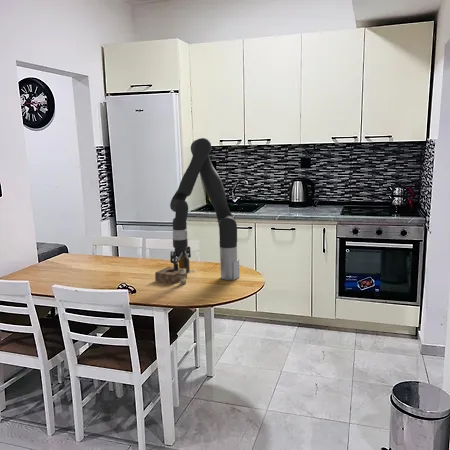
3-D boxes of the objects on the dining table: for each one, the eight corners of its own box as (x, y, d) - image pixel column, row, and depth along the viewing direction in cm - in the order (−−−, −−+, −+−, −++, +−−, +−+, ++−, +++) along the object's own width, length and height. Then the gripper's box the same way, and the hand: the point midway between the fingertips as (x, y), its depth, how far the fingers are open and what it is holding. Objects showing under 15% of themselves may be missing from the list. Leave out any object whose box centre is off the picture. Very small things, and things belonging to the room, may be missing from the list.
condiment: (186, 268, 250) (185, 248, 248) (194, 271, 243) (193, 251, 241) (175, 271, 245) (174, 251, 243) (183, 274, 239) (182, 253, 237)
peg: (187, 283, 223) (187, 268, 221) (183, 285, 220) (183, 270, 218) (182, 282, 225) (181, 267, 223) (178, 284, 222) (177, 269, 220)
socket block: (187, 277, 232) (186, 269, 231) (173, 284, 222) (173, 275, 221) (169, 275, 238) (168, 266, 237) (155, 281, 228) (155, 272, 227)
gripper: (177, 241, 210) (178, 273, 213) (194, 235, 222) (195, 266, 225) (165, 239, 214) (166, 271, 217) (182, 234, 226) (183, 264, 229)
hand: (181, 268), depth 221 cm, fingers open, 8 cm apart
